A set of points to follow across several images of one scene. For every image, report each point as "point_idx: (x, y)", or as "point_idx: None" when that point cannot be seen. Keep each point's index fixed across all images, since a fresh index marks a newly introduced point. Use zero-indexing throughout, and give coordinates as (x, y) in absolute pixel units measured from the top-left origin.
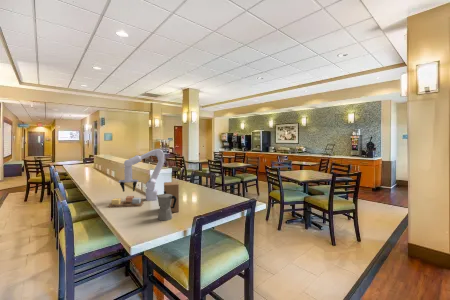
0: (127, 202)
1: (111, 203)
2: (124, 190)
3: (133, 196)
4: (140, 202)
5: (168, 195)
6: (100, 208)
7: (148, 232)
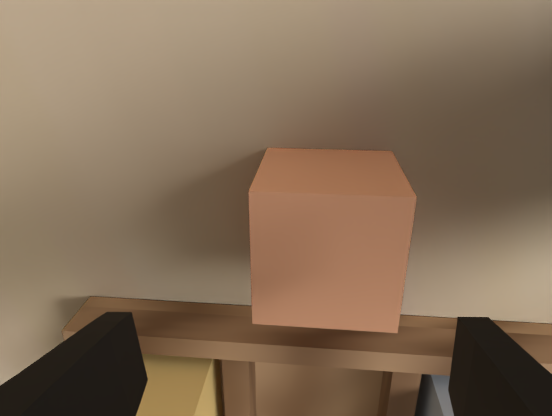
0: (315, 358)
1: None
2: (120, 323)
3: (410, 241)
4: None
5: None
6: None
7: None
